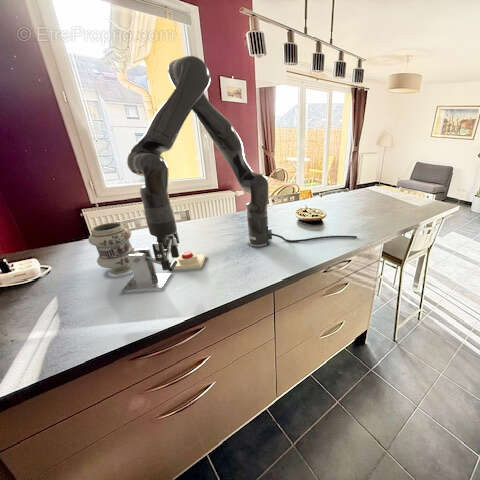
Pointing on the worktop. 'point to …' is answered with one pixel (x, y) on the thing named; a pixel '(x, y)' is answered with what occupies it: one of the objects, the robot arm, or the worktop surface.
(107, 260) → the apothecary jar
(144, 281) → the bracket
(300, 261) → the worktop surface
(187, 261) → the button block
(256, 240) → the robot arm
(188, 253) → the button
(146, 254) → the lever
